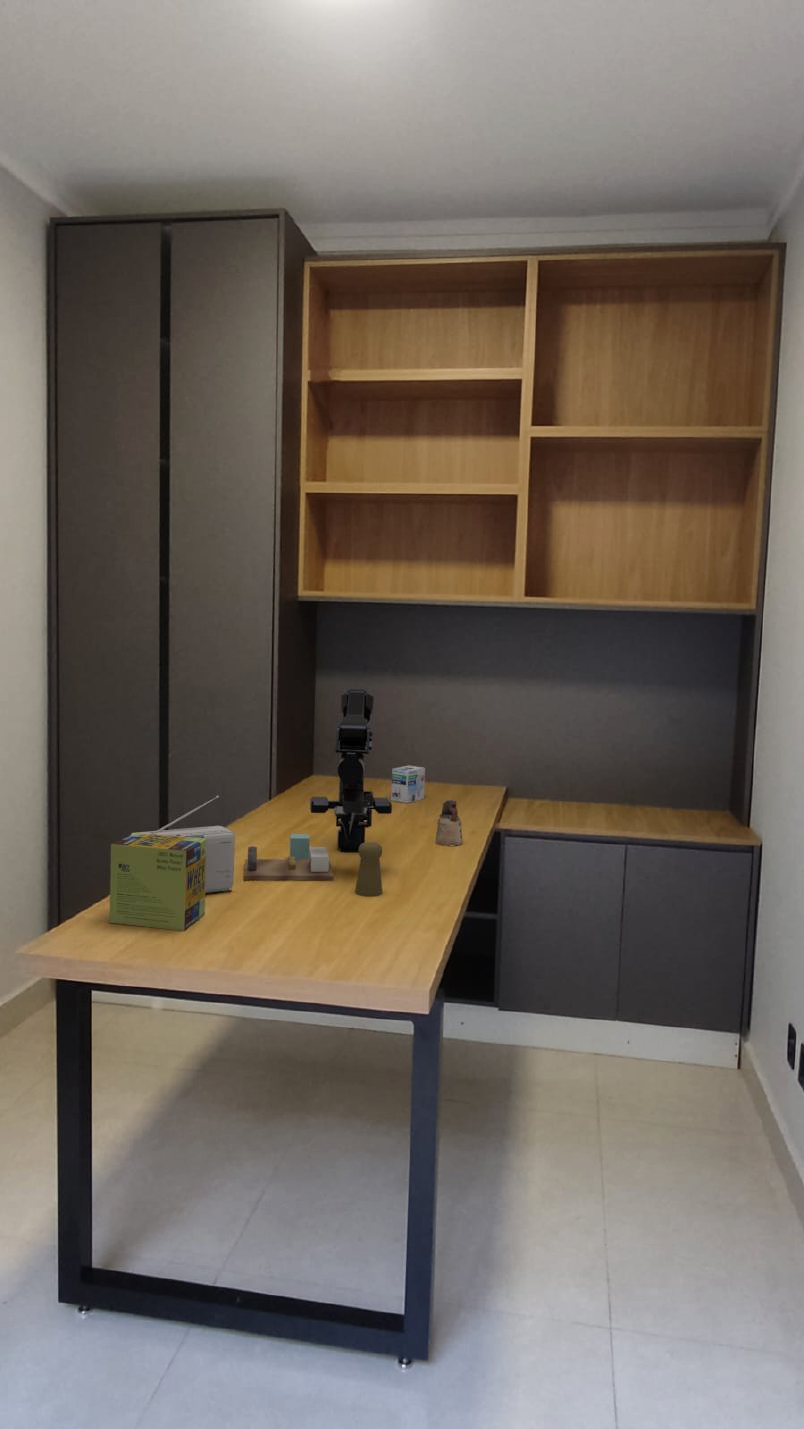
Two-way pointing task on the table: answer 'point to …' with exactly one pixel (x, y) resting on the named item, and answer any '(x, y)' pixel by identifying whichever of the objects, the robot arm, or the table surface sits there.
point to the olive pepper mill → (369, 870)
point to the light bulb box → (408, 784)
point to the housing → (319, 859)
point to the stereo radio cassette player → (210, 852)
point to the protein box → (158, 881)
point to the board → (281, 869)
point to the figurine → (449, 825)
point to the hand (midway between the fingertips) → (349, 841)
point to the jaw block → (299, 846)
